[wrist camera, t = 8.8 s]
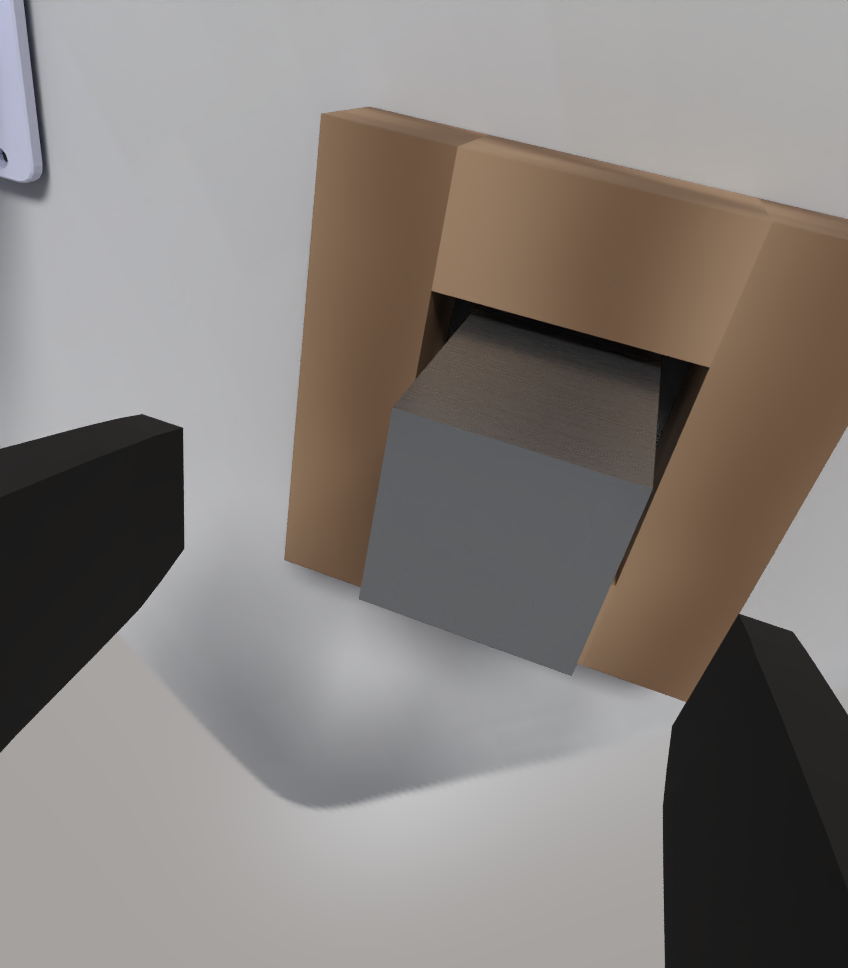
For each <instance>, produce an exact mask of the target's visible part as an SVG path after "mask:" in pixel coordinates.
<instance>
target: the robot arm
mask: <svg viewBox="0 0 848 968" xmlns="http://www.w3.org/2000/svg"><path fill="white" fill-rule="evenodd" d="M2 150H3V151H4V152H5V154H6V156H7V159H8V163H7V162H6V161H5V160H4V158H3V155H2ZM41 174H42V156H41V148H40V139H39V131H38V122H37V114H36V105H35V96H34V88H33V79H32V71H31V62H30V54H29V45H28V37H27V28H26V19H25V11H24V2H23V0H0V177H1V178H5V179H9V180H12V181H16V182H19V183H27V182H33V181H36V180H37V179H39V178H40V176H41ZM183 550H184V471H183V428H182V427H179V426H176V425H173V424H170V423H167V422H164V421H161V420H158V419H155V418H152V417H149V416H146V415H143V414H141V415H135V416H130V417H124V418H119V419H115V420H110V421H106V422H102V423H97V424H93V425H89V426H85V427H81V428H78V429H74V430H70V431H66V432H62V433H58V434H55V435H51V436H47V437H43V438H40V439H36V440H32V441H28V442H24V443H21V444H17V445H13V446H9V447H6V448H2V449H0V752H1V751H2V750H3V749H4V748H5V747H6V746H7V745H8V744H9V743H10V741H11V740H12V739H13V738H14V737H15V736H16V735H17V734H18V733H19V732H20V731H21V730H22V729H23V728H24V727H25V726H26V725H27V724H28V723H29V722H30V721H31V720H32V719H33V718H34V717H35V715H36V714H38V712H39V711H40V710H41V709H42V708H43V707H44V706H45V705H46V704H47V703H48V702H49V701H50V700H51V699H52V698H53V697H54V696H55V695H56V694H57V693H58V692H59V691H60V690H61V689H62V688H63V687H64V686H65V685H66V684H67V683H68V682H69V681H70V680H71V679H72V678H73V677H74V676H75V675H76V674H77V673H78V672H79V671H80V670H81V669H82V668H83V667H84V666H85V665H86V664H87V663H88V662H89V661H90V660H91V659H92V658H93V657H94V656H95V655H96V654H97V653H98V652H99V650H100V649H101V648H102V647H103V646H104V645H105V644H106V643H107V642H108V641H109V640H110V639H111V638H112V637H113V636H114V635H115V634H116V633H117V632H118V631H119V630H120V629H121V628H122V627H123V626H124V625H125V624H126V623H127V621H128V620H129V619H130V618H131V617H132V616H133V615H134V614H135V613H136V612H137V611H138V610H139V609H140V608H141V607H142V605H143V604H144V603H145V601H146V600H147V599H148V597H149V596H150V595H151V594H152V592H153V591H154V590H155V588H156V587H157V586H158V584H159V583H160V582H161V581H162V579H163V578H164V576H165V575H166V574H167V572H168V571H169V569H170V568H171V567H172V565H173V564H174V562H175V561H176V560H177V558H178V557H179V555H180V554H181V553H182V551H183ZM663 868H664V869H663V875H664V876H663V877H664V934H665V968H848V714H847V713H846V711H845V710H844V708H843V707H842V705H841V704H840V702H839V701H838V699H837V697H836V696H835V694H834V693H833V691H832V690H831V688H830V687H829V685H828V683H827V682H826V680H825V679H824V677H823V676H822V674H821V673H820V671H819V670H818V668H817V666H816V665H815V663H814V662H813V660H812V659H811V657H810V656H809V654H808V653H807V651H806V650H805V648H804V647H803V645H802V644H801V643H800V641H799V640H798V638H797V637H796V636H795V634H794V633H793V632H792V631H789V630H786V629H783V628H780V627H777V626H774V625H771V624H768V623H765V622H762V621H759V620H756V619H753V618H750V617H747V616H744V615H741V614H738V616H737V617H736V619H735V621H734V622H733V624H732V626H731V627H730V629H729V631H728V633H727V634H726V636H725V638H724V639H723V641H722V643H721V644H720V646H719V648H718V649H717V651H716V653H715V655H714V656H713V658H712V660H711V661H710V663H709V665H708V666H707V668H706V670H705V671H704V673H703V675H702V677H701V678H700V680H699V682H698V683H697V685H696V687H695V688H694V690H693V692H692V693H691V695H690V697H689V699H688V700H687V702H686V704H685V705H684V707H683V709H682V710H681V712H680V714H679V715H678V717H677V719H676V721H675V722H674V724H673V726H672V732H671V740H670V748H669V755H668V763H667V772H666V781H665V791H664V802H663Z"/></svg>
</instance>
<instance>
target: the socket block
mask: <svg viewBox="0 0 848 968" xmlns="http://www.w3.org/2000/svg"><path fill="white" fill-rule="evenodd" d="M455 298H460V299H463V300H467V301H470V302H474V303H478V304H481V305H485V306H488V307H492V308H496V309H499V310H503V311H507V312H510V313H514V314H517V315H521V316H525V317H528V318H532V319H536V320H539V321H543V322H546V323H550V324H554V325H557V326H561V327H565V328H568V329H572V330H575V331H579V332H583V333H586V334H590V335H594V336H597V337H601V338H604V339H608V340H612V341H615V342H619V343H623V344H626V345H630V346H633V347H637V348H641V349H644V350H648V351H652V352H655V353H659V354H662V355H666V356H670V357H673V358H677V359H680V360H684V361H688V362H691V365H690V367H689V369H688V372H687V374H686V377H685V379H684V382H683V384H682V386H681V389H680V391H679V394H678V396H677V398H676V401H675V403H674V406H673V408H672V411H671V413H670V415H669V418H668V420H667V423H666V425H665V427H664V430H663V432H662V435H661V437H660V440H659V442H658V444H657V447H656V449H655V464H654V478H653V490H652V492H651V494H650V497H649V499H648V501H647V503H646V506H645V508H644V510H643V513H642V515H641V517H640V520H639V522H638V524H637V526H636V529H635V531H634V533H633V536H632V538H631V540H630V543H629V545H628V547H627V549H626V552H625V554H624V556H623V559H622V561H621V563H620V565H619V568H618V570H617V572H616V575H615V577H614V579H613V582H612V584H611V586H610V588H609V591H608V593H607V595H606V598H605V600H604V602H603V605H602V607H601V609H600V611H599V614H598V616H597V618H596V621H595V623H594V625H593V628H592V630H591V632H590V634H589V637H588V639H587V641H586V644H585V646H584V648H583V651H582V653H581V655H580V657H579V660H578V662H577V664H580V665H583V666H586V667H589V668H592V669H594V670H597V671H600V672H603V673H606V674H609V675H611V676H614V677H617V678H620V679H623V680H626V681H628V682H631V683H634V684H637V685H640V686H643V687H645V688H648V689H651V690H654V691H657V692H660V693H662V694H665V695H668V696H671V697H674V698H677V699H679V700H682V701H685V702H687V700H688V699H689V697H690V695H691V693H692V692H693V690H694V688H695V687H696V685H697V683H698V682H699V680H700V678H701V677H702V675H703V673H704V671H705V670H706V668H707V666H708V665H709V663H710V661H711V660H712V658H713V656H714V655H715V653H716V651H717V649H718V648H719V646H720V644H721V643H722V641H723V639H724V638H725V636H726V634H727V633H728V631H729V629H730V627H731V626H732V624H733V622H734V621H735V619H736V617H737V616H738V614H739V613H740V611H741V610H742V608H743V606H744V604H745V603H746V601H747V599H748V598H749V596H750V594H751V592H752V591H753V589H754V587H755V585H756V584H757V582H758V580H759V578H760V577H761V575H762V573H763V572H764V570H765V568H766V566H767V565H768V563H769V561H770V559H771V558H772V556H773V554H774V553H775V551H776V549H777V547H778V546H779V544H780V542H781V540H782V539H783V537H784V535H785V533H786V532H787V530H788V528H789V527H790V525H791V523H792V521H793V520H794V518H795V516H796V514H797V513H798V511H799V509H800V507H801V506H802V504H803V502H804V501H805V499H806V497H807V495H808V494H809V492H810V490H811V488H812V487H813V485H814V483H815V482H816V480H817V478H818V476H819V475H820V473H821V471H822V469H823V468H824V466H825V464H826V462H827V461H828V459H829V457H830V456H831V454H832V452H833V450H834V449H835V447H836V445H837V443H838V442H839V440H840V438H841V436H842V435H843V433H844V431H845V430H846V428H847V426H848V219H844V218H840V217H836V216H831V215H827V214H823V213H819V212H814V211H810V210H806V209H802V208H797V207H793V206H789V205H785V204H780V203H776V202H772V201H768V200H763V199H759V198H755V197H751V196H746V195H742V194H738V193H734V192H729V191H725V190H721V189H717V188H712V187H708V186H704V185H700V184H695V183H691V182H687V181H683V180H678V179H674V178H670V177H666V176H661V175H657V174H653V173H649V172H644V171H640V170H636V169H632V168H627V167H623V166H619V165H615V164H610V163H606V162H602V161H598V160H593V159H589V158H585V157H581V156H576V155H572V154H568V153H564V152H559V151H555V150H551V149H547V148H542V147H538V146H534V145H530V144H525V143H521V142H517V141H513V140H508V139H504V138H500V137H496V136H491V135H487V134H483V133H479V132H474V131H470V130H466V129H462V128H457V127H453V126H449V125H445V124H440V123H436V122H432V121H428V120H424V119H419V118H415V117H411V116H407V115H402V114H398V113H394V112H390V111H385V110H381V109H377V108H373V107H364V108H357V109H350V110H343V111H337V112H330V113H323V114H321V122H320V135H319V147H318V159H317V171H316V183H315V195H314V207H313V219H312V231H311V244H310V256H309V268H308V280H307V292H306V304H305V316H304V328H303V340H302V353H301V365H300V377H299V389H298V401H297V413H296V425H295V437H294V450H293V462H292V474H291V486H290V498H289V510H288V522H287V534H286V546H285V559H284V560H286V561H289V562H291V563H294V564H297V565H300V566H303V567H306V568H308V569H311V570H314V571H317V572H320V573H323V574H325V575H328V576H331V577H334V578H337V579H340V580H342V581H345V582H348V583H351V584H354V585H357V586H359V587H361V585H362V579H363V574H364V568H365V562H366V556H367V550H368V545H369V539H370V533H371V527H372V522H373V516H374V510H375V504H376V499H377V493H378V487H379V481H380V475H381V470H382V464H383V458H384V452H385V447H386V441H387V435H388V429H389V424H390V418H391V412H392V407H393V406H394V405H395V404H396V402H397V401H398V400H399V399H400V398H401V396H402V395H403V394H404V393H405V392H406V390H407V389H408V388H409V387H410V386H411V384H412V383H413V382H414V381H415V380H416V379H417V377H418V376H419V375H420V374H421V373H422V371H423V370H424V369H425V368H426V367H427V365H428V364H429V363H430V362H431V361H432V359H433V358H434V357H435V356H436V355H437V353H438V352H439V351H440V350H441V349H442V348H443V346H444V345H445V344H446V342H447V337H448V332H449V328H450V323H451V318H452V313H453V308H454V303H455Z"/></svg>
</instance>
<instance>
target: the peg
mask: <svg viewBox="0 0 848 968" xmlns="http://www.w3.org/2000/svg"><path fill="white" fill-rule="evenodd" d="M661 360H662V354H659V353H655V352H652V351H648V350H644V349H641V348H637V347H633V346H630V345H626V344H623V343H619V342H615V341H612V340H608V339H604V338H601V337H597V336H594V335H590V334H586V333H583V332H579V331H575V330H572V329H568V328H565V327H561V326H557V325H554V324H550V323H546V322H543V321H539V320H536V319H532V318H528V317H525V316H521V315H517V314H514V313H510V312H507V311H503V310H499V309H496V308H492V307H488V306H485V305H481V304H479V305H478V306H477V307H476V308H475V309H474V311H473V312H472V313H471V314H470V315H469V317H468V318H467V319H466V320H465V321H464V322H463V324H462V325H461V326H460V327H459V328H458V330H457V331H456V332H455V333H454V334H453V336H452V337H451V338H450V339H449V340H448V342H447V343H446V344H445V345H444V346H443V348H442V349H441V350H440V351H439V352H438V353H437V355H436V356H435V357H434V358H433V359H432V361H431V362H430V363H429V364H428V365H427V367H426V368H425V369H424V370H423V371H422V373H421V374H420V375H419V376H418V377H417V379H416V380H415V381H414V382H413V383H412V384H411V386H410V387H409V388H408V389H407V390H406V392H405V393H404V394H403V395H402V396H401V398H400V399H399V400H398V401H397V402H396V404H395V405H394V406H393V407H392V412H391V418H390V424H389V429H388V435H387V441H386V447H385V452H384V458H383V464H382V470H381V475H380V481H379V487H378V493H377V499H376V504H375V510H374V516H373V522H372V527H371V533H370V539H369V545H368V550H367V556H366V562H365V568H364V574H363V579H362V585H361V591H360V597H359V599H360V600H363V601H366V602H369V603H371V604H374V605H377V606H380V607H382V608H385V609H388V610H391V611H393V612H396V613H399V614H402V615H405V616H407V617H410V618H413V619H416V620H418V621H421V622H424V623H427V624H429V625H432V626H435V627H438V628H440V629H443V630H446V631H449V632H452V633H454V634H457V635H460V636H463V637H465V638H468V639H471V640H474V641H476V642H479V643H482V644H485V645H488V646H490V647H493V648H496V649H499V650H501V651H504V652H507V653H510V654H512V655H515V656H518V657H521V658H523V659H526V660H529V661H532V662H535V663H537V664H540V665H543V666H546V667H548V668H551V669H554V670H557V671H559V672H562V673H565V674H568V675H570V676H572V674H573V671H574V669H575V667H576V664H577V662H578V660H579V657H580V655H581V653H582V651H583V648H584V646H585V644H586V641H587V639H588V637H589V634H590V632H591V630H592V628H593V625H594V623H595V621H596V618H597V616H598V614H599V611H600V609H601V607H602V605H603V602H604V600H605V598H606V595H607V593H608V591H609V588H610V586H611V584H612V582H613V579H614V577H615V575H616V572H617V570H618V568H619V565H620V563H621V561H622V559H623V556H624V554H625V552H626V549H627V547H628V545H629V543H630V540H631V538H632V536H633V533H634V531H635V529H636V526H637V524H638V522H639V520H640V517H641V515H642V513H643V510H644V508H645V506H646V503H647V501H648V499H649V497H650V494H651V492H652V490H653V478H654V464H655V449H656V434H657V419H658V405H659V390H660V375H661Z"/></svg>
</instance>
